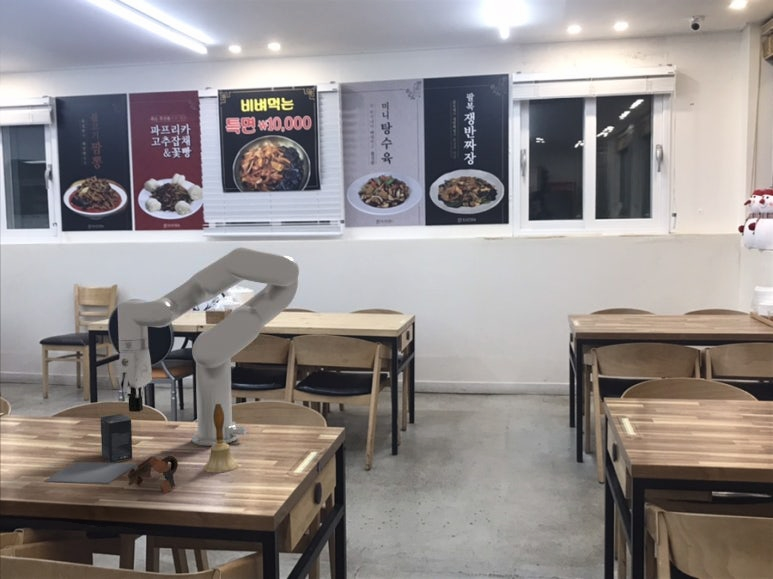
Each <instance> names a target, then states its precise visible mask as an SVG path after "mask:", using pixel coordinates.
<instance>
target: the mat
mask: <svg viewBox="0 0 773 579" xmlns="http://www.w3.org/2000/svg"><path fill="white" fill-rule="evenodd" d="M135 466H138V465H137V463H126V462H124V463H123V462H119V463H118V462H113V463H110V462H95V461H93V462H89V461H88V462H87V461H76V462H74V463H73V464H70V465H69V466H67V467H66V468H64V469H62V470H61V471H59V472H56V473H55V474H53V475H52V476H50V477H48V478H46V479H44V480H43V482H44V483H64V484H65V483H68V484H70V483H71V484H95V485H96V484H101V485H102V484H103V485H104V484H105V485H109V484H111V483H112V482H114V481H116V480H117V479H119V477H121V476H122V475H124V474H125V473H127V472H129V471H131V470H132V469H134V467H135Z"/></svg>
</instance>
